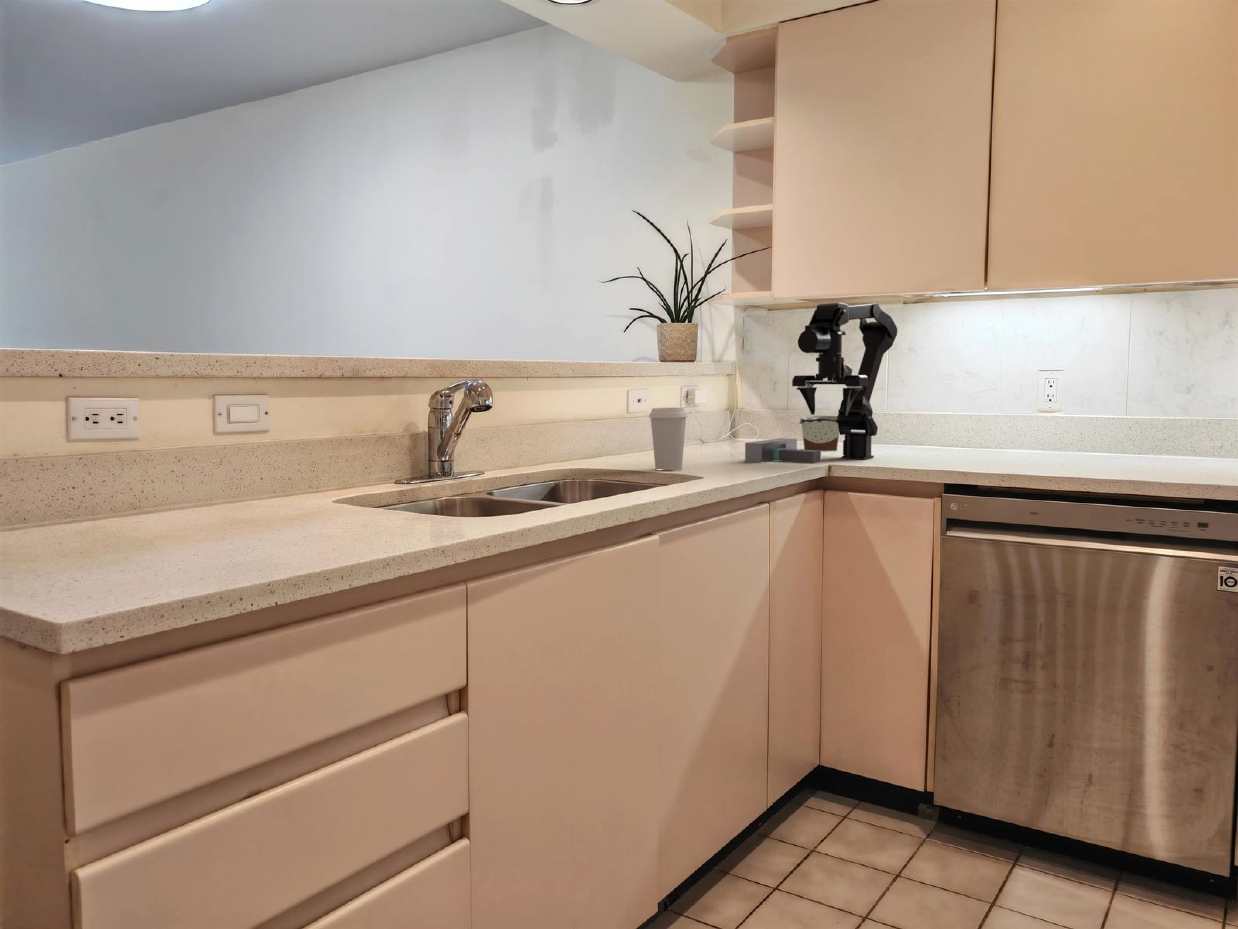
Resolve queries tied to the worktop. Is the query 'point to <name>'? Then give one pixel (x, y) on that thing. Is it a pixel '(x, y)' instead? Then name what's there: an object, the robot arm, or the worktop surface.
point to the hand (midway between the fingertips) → (829, 415)
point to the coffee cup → (668, 437)
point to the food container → (820, 432)
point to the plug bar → (797, 455)
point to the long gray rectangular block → (767, 449)
